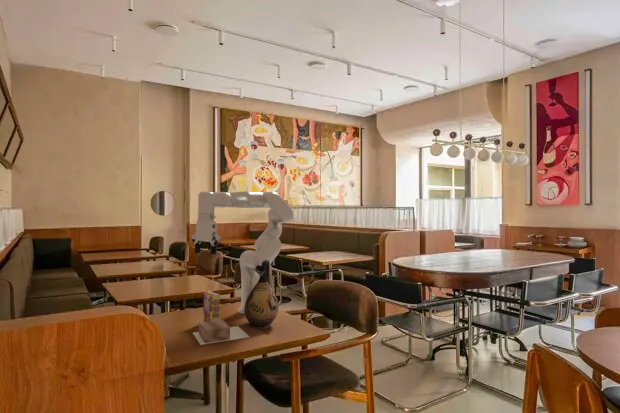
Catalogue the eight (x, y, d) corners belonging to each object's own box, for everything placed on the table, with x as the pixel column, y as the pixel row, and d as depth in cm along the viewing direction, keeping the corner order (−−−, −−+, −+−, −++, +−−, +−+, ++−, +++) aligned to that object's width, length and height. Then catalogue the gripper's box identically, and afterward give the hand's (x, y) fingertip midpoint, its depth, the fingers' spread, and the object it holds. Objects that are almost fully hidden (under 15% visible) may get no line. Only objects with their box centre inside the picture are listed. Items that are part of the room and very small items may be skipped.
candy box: (220, 328, 179) (220, 294, 179) (211, 330, 176) (211, 295, 176) (211, 323, 186) (211, 290, 186) (202, 325, 183) (203, 292, 183)
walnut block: (222, 330, 172) (222, 319, 172) (230, 339, 161) (230, 326, 161) (198, 334, 167) (198, 322, 167) (205, 343, 157) (205, 330, 157)
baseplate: (238, 328, 178) (238, 326, 178) (249, 339, 164) (249, 336, 164) (192, 335, 169) (192, 332, 169) (200, 347, 155) (200, 344, 155)
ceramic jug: (272, 332, 173) (272, 263, 172) (239, 330, 176) (239, 262, 175) (283, 321, 189) (283, 258, 189) (252, 319, 192) (252, 257, 192)
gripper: (225, 218, 189) (224, 254, 189) (197, 217, 196) (197, 251, 196) (215, 218, 182) (214, 255, 182) (186, 217, 190) (185, 253, 190)
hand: (205, 253), depth 189 cm, fingers open, 9 cm apart
